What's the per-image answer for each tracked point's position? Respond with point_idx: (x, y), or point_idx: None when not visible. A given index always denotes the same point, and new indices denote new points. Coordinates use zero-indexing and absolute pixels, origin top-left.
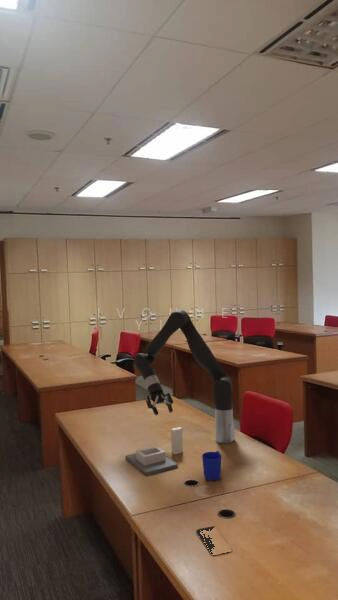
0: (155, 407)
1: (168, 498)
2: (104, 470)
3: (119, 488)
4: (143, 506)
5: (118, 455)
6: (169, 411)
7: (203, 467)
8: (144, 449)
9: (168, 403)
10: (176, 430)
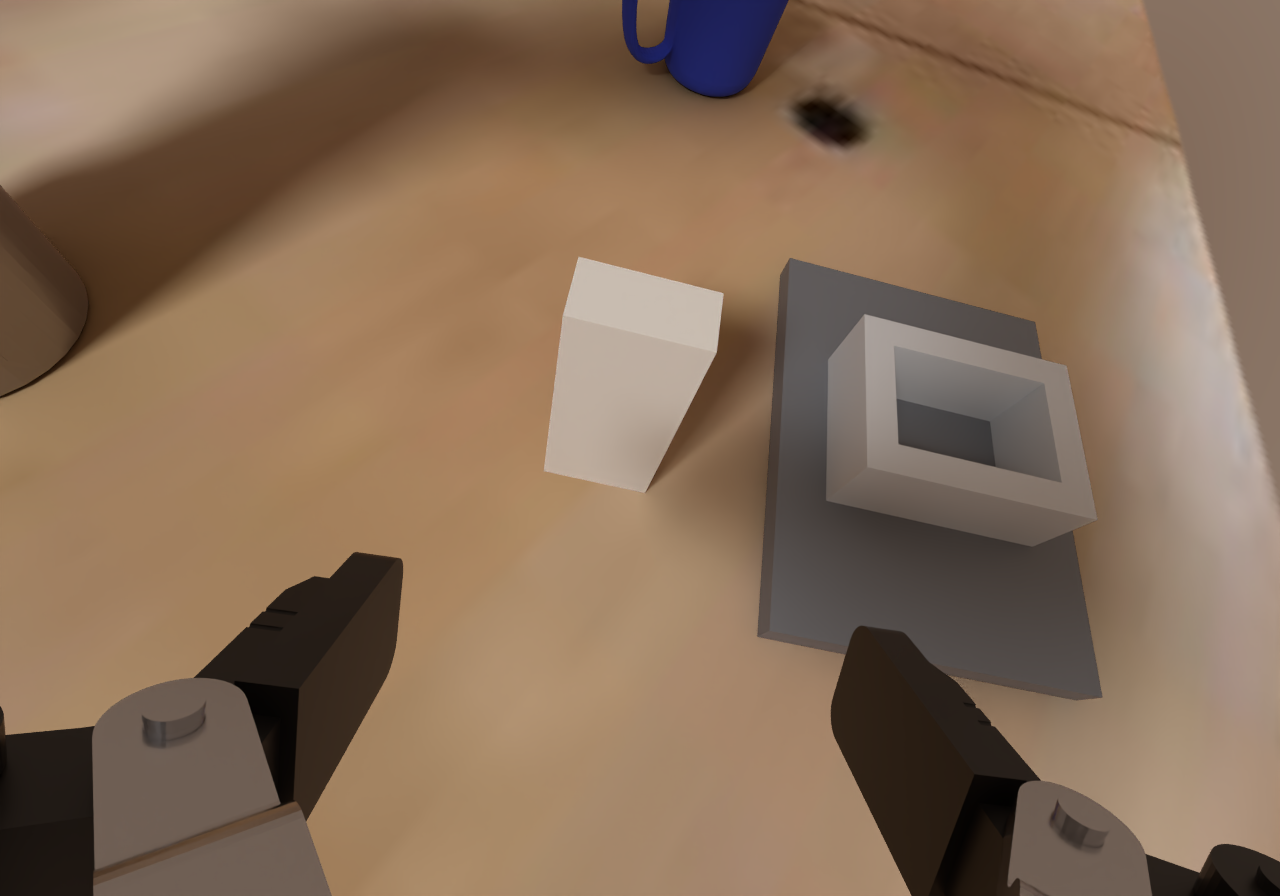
0: (996, 760)
1: (1002, 118)
2: (1277, 616)
3: (1202, 334)
4: (1124, 152)
5: None
6: (378, 680)
7: (774, 27)
8: (1011, 490)
9: (260, 740)
10: (674, 289)
